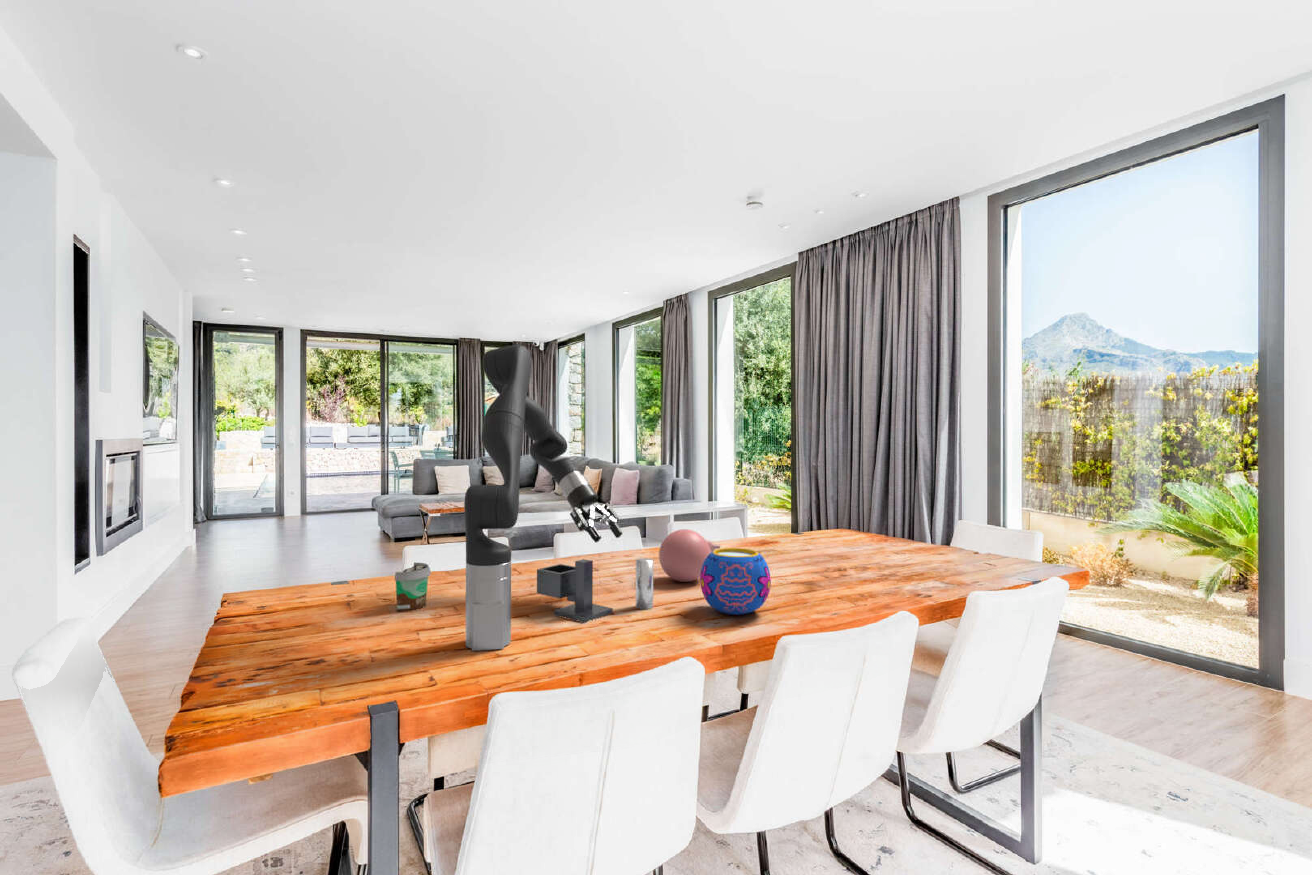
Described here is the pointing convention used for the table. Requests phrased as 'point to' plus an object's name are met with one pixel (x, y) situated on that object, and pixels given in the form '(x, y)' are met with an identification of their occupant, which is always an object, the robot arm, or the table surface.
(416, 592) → the food container
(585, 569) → the cup bracket
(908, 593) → the table surface
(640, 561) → the silver metal cylinder
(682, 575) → the balloon
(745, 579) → the ceramic pot
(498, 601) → the robot arm
